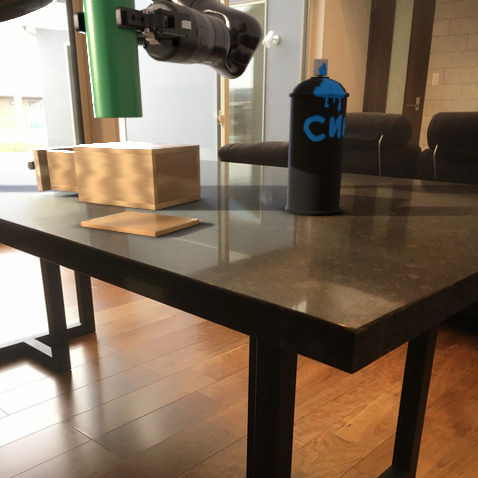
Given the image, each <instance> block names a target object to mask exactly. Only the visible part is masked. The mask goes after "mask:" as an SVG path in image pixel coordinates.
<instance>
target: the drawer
mask: <svg viewBox="0 0 478 478" xmlns="http://www.w3.org/2000/svg"><path fill="white" fill-rule="evenodd" d="M73 146H74V145H72V146H61V147H60V146H58V147H45V148H32V156H33V160H31V161H28V162H27V168H28V169H29V170H31V171H35V177H36V184H37V191H38V192H48V191H61V192H69V193H71V192H72V193H78V186H77V177H76V168H75V159H74V150H73Z"/></svg>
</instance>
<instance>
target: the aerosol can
mask: <svg viewBox="0 0 478 478" xmlns="http://www.w3.org/2000/svg"><path fill="white" fill-rule="evenodd" d="M312 62H313V64H312V76H310V78H307V79H305V80H303V81H301V82H299V83H298V84H297V85H295V87H294V88H293V89H292V90H291V91H292V92H289V93H288V97H289V98H290V100H289V126H288V127H289V128H288V129H289V132H288V161H287V188H286V206H285V207H284V210H285V212H287V213H290V214H294V215H302V216H331V215H336V214H339V213H340V212H341V211H342V207H340V203H341V191H342V175H343V161H344V150H345V149H344V148H345V137H346V122H347V110H348V109H347V108H348V107H347V106H348V98H349V97H350V93H349V92H347V90H346V88H345V87H344V85H343V84H342V83H341V82H339V81H337V80H335V79H332V78H330V76H328V72H329V71H328V69H329V59H328V58H314V59H313V61H312Z"/></svg>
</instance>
